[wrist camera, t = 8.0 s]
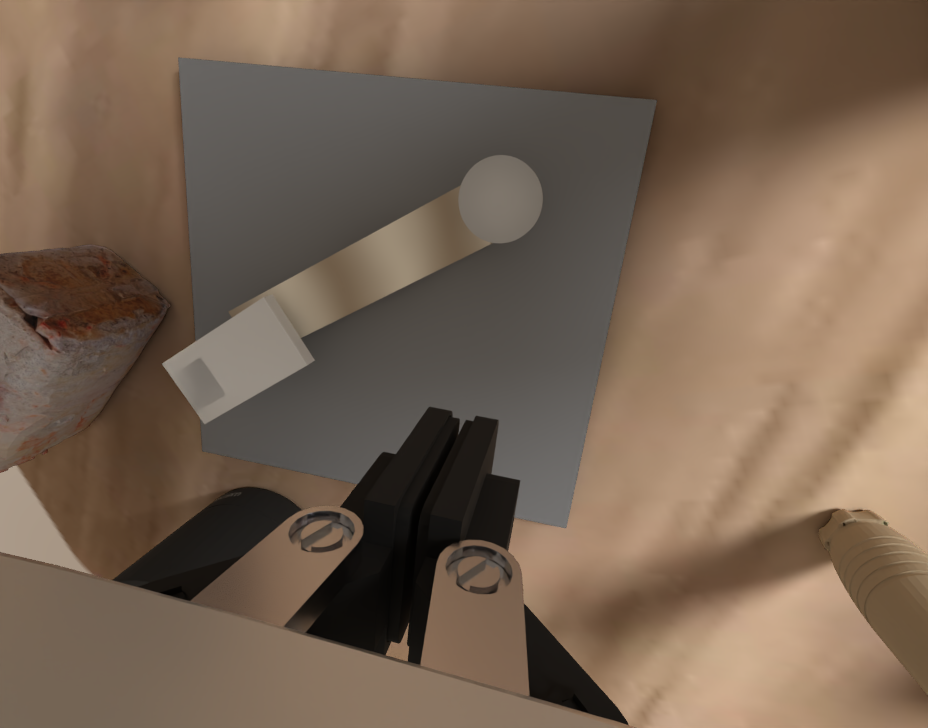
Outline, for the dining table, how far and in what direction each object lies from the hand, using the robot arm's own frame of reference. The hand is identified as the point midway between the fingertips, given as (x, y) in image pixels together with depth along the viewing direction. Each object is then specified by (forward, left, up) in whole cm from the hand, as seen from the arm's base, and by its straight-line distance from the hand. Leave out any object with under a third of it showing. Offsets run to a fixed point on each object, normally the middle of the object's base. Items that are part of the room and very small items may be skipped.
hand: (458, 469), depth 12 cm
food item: (+6, -28, -18) cm, 34 cm away
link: (-1, -9, -16) cm, 18 cm away
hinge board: (+1, -7, -17) cm, 19 cm away
